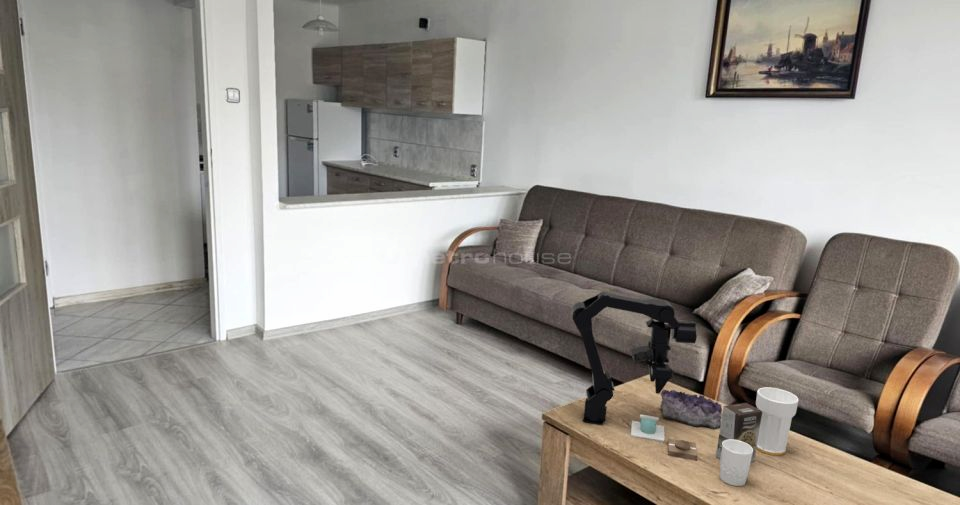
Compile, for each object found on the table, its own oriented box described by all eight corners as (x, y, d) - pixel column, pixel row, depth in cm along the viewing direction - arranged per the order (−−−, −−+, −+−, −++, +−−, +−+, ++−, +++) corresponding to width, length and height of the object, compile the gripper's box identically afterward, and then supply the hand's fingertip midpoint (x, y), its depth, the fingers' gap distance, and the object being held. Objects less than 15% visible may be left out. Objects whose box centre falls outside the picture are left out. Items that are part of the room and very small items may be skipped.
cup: (789, 444, 195) (798, 392, 191) (789, 461, 185) (799, 406, 181) (749, 435, 199) (757, 384, 196) (748, 451, 189) (756, 397, 186)
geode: (722, 419, 210) (727, 393, 207) (718, 438, 200) (723, 411, 197) (661, 402, 218) (664, 377, 215) (654, 419, 209) (657, 393, 205)
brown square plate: (668, 455, 184) (669, 447, 184) (667, 442, 192) (668, 434, 191) (696, 460, 182) (697, 452, 182) (695, 447, 190) (696, 439, 189)
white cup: (750, 489, 169) (756, 455, 167) (719, 485, 170) (724, 451, 168) (744, 474, 177) (749, 441, 175) (715, 469, 178) (719, 437, 176)
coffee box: (730, 467, 180) (738, 415, 176) (714, 455, 186) (722, 405, 182) (755, 462, 183) (763, 411, 180) (738, 451, 189) (746, 401, 186)
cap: (638, 432, 196) (640, 418, 196) (638, 425, 201) (640, 411, 200) (656, 435, 195) (658, 421, 194) (656, 428, 200) (658, 414, 199)
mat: (630, 436, 195) (630, 434, 195) (631, 421, 204) (632, 420, 204) (664, 441, 192) (664, 440, 192) (663, 427, 202) (663, 426, 202)
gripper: (629, 329, 207) (625, 373, 210) (638, 349, 188) (633, 397, 192) (664, 331, 206) (659, 376, 209) (676, 352, 188) (670, 400, 191)
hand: (654, 387), depth 200 cm, fingers open, 9 cm apart
